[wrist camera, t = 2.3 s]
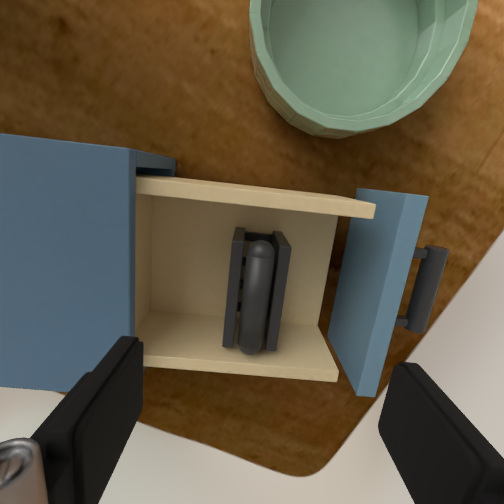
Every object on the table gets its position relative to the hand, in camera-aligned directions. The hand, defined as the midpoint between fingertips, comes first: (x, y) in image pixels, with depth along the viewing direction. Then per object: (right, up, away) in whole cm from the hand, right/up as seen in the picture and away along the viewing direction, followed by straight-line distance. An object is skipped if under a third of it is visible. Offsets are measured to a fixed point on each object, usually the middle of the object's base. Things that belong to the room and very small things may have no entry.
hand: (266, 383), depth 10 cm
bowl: (+5, +19, +9) cm, 22 cm away
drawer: (+2, +4, +12) cm, 13 cm away
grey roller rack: (0, +3, +11) cm, 11 cm away
